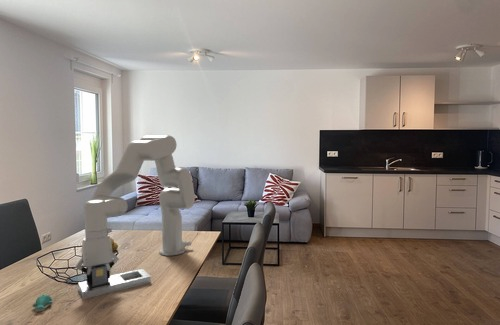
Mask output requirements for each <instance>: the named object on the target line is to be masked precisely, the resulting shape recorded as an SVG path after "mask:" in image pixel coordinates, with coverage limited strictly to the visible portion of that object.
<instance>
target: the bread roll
mask: <svg viewBox="0 0 500 325" xmlns="http://www.w3.org/2000/svg"><path fill="white" fill-rule="evenodd" d="M110 239H111V245H112V252H114V251H116V250H118V249H119V245H118V243H117V242H115V241H114V239H113V238H112V237H110Z"/></svg>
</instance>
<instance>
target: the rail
mask: <svg viewBox="0 0 500 325" xmlns="http://www.w3.org/2000/svg"><path fill="white" fill-rule="evenodd" d="M108 280H109V281H108V282H107V285H105V286H101V287H96V288H91V287H90V284H89V283H87V280H84V281H81V282H80V281H79V282H78V283H77V285H78V288H77V289H78V292H79V293H80V296H81V299H82V300H85V299H89V298H90V299H91V298H94V297H98V296H102V295H106V294H111V293H114V292H119V291H123V290H127V289H131V288H134V287H140V286H143V285H147V284H151V283H152V276H151V275H150V274H149V273H148V271H146V270H145V269H144V268H139V269H134V270H130V271H125V272H120V273H115V274H112V275H111V274H110V278H108Z"/></svg>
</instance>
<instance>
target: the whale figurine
mask: <svg viewBox="0 0 500 325" xmlns="http://www.w3.org/2000/svg"><path fill="white" fill-rule="evenodd" d="M52 305H53V300H52V297H51V296H50V295H48V294H41V295H39V296H38V297H37V298H36V299H35V302H34V303H33V304H32V307H33V308H34V311H35V312H43V311H44V310H45V309H47V308H48V307H49V306H52Z"/></svg>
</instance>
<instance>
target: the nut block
mask: <svg viewBox="0 0 500 325" xmlns="http://www.w3.org/2000/svg"><path fill="white" fill-rule="evenodd" d="M91 275H92V285H90V287H91V288H90V289H92V288H96V287H101V286H105V285H107V266H106V265H105V264H101V265H97V266H92V268H91Z"/></svg>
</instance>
